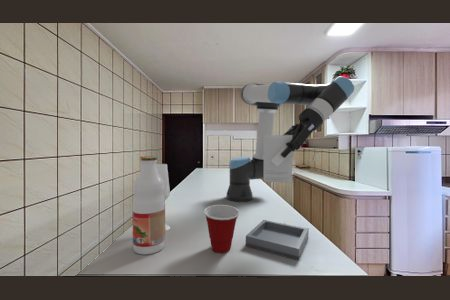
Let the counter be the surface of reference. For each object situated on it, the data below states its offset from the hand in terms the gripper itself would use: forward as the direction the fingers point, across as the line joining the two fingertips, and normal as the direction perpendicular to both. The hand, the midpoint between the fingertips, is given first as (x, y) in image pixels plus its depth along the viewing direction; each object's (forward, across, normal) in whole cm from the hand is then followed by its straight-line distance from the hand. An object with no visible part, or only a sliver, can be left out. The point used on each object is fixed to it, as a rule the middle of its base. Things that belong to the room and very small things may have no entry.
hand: (268, 161), depth 71 cm
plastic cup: (+30, -6, -7) cm, 31 cm away
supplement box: (+2, 0, -6) cm, 7 cm away
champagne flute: (+45, +11, +8) cm, 47 cm away
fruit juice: (+45, -3, +8) cm, 46 cm away
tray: (+16, -2, -20) cm, 26 cm away
